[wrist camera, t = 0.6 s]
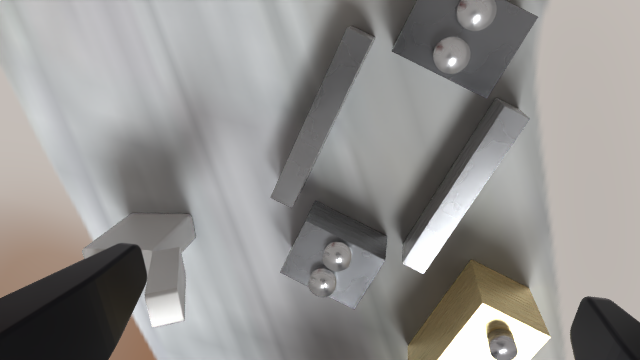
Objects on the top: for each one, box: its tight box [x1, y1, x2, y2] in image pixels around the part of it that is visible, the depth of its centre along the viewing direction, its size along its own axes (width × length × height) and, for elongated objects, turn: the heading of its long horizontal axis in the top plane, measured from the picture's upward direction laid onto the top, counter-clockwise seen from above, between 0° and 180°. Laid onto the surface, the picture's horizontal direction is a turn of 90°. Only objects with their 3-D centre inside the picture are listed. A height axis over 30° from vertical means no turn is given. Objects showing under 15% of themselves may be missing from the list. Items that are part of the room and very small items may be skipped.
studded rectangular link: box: [270, 0, 538, 309], centre depth 21 cm, size 16×9×3 cm, turn 155°
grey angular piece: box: [82, 213, 196, 328], centre depth 23 cm, size 7×2×8 cm, turn 94°
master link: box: [408, 259, 550, 360], centre depth 23 cm, size 7×4×5 cm, turn 155°
